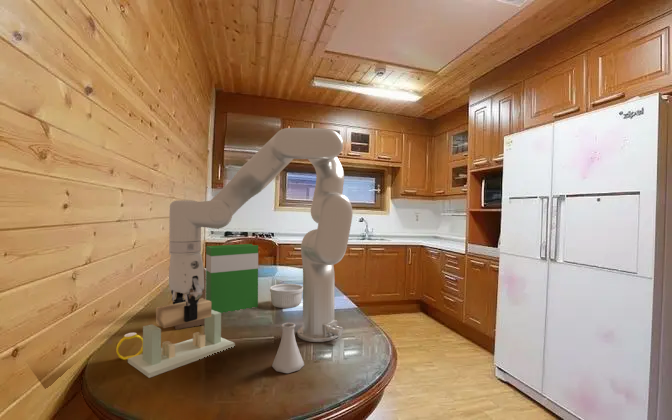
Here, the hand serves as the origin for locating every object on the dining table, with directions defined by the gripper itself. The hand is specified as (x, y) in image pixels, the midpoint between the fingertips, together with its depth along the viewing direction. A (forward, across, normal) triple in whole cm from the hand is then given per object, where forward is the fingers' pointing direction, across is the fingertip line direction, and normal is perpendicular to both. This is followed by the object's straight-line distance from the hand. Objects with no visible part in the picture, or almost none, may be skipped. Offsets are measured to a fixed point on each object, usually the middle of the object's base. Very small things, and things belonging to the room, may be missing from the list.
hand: (184, 317), depth 86 cm
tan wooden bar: (+1, 0, 0) cm, 1 cm away
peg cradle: (+9, 0, 0) cm, 9 cm away
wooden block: (+10, +20, -12) cm, 25 cm away
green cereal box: (+10, +26, -32) cm, 42 cm away
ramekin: (+10, +14, -49) cm, 52 cm away
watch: (+10, +9, +10) cm, 16 cm away
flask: (+10, -26, -12) cm, 30 cm away
